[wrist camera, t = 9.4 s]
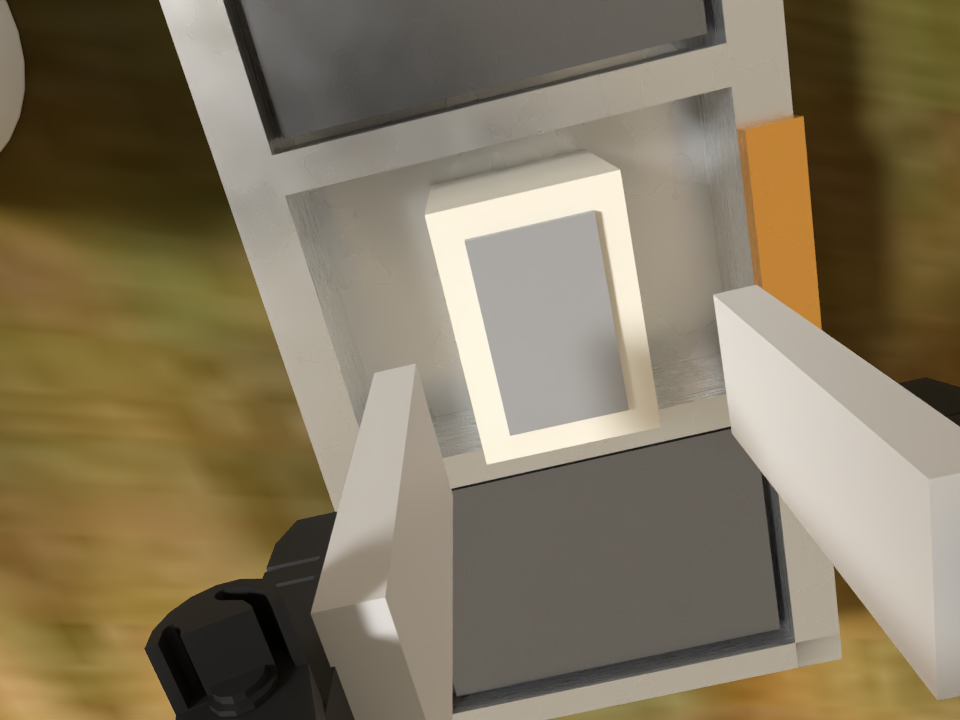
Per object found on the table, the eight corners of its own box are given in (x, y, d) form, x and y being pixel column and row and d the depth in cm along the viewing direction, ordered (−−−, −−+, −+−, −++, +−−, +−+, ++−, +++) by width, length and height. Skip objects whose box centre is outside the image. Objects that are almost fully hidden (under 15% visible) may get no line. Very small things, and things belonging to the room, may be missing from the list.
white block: (431, 185, 22) (424, 216, 18) (584, 149, 22) (622, 170, 17) (480, 389, 25) (487, 468, 20) (621, 359, 24) (663, 430, 20)
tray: (137, -206, 20) (53, -280, 16) (695, -359, 19) (763, -479, 15) (420, 664, 29) (415, 761, 25) (798, 584, 29) (857, 670, 24)
